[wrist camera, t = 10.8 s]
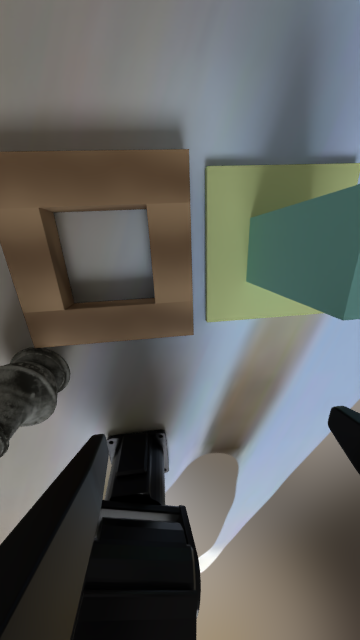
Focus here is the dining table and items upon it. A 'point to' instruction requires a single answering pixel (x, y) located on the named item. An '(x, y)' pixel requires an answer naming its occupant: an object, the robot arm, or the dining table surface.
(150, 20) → the dining table surface
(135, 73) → the dining table surface
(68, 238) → the dining table surface
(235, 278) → the olive mat
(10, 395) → the dark grey upright piece
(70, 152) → the frame
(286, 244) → the teal peg
